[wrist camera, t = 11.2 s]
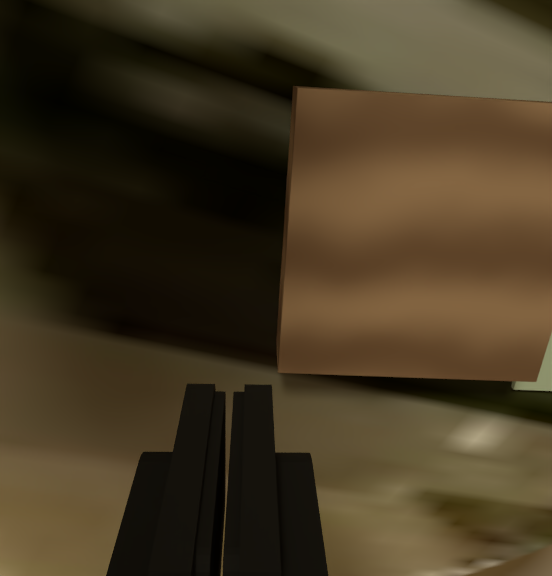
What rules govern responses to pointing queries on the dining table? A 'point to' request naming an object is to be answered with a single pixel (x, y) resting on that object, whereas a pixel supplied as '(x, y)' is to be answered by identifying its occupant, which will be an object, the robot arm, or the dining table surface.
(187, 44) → the dining table surface
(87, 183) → the dining table surface
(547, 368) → the mat
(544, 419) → the dining table surface
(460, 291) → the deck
